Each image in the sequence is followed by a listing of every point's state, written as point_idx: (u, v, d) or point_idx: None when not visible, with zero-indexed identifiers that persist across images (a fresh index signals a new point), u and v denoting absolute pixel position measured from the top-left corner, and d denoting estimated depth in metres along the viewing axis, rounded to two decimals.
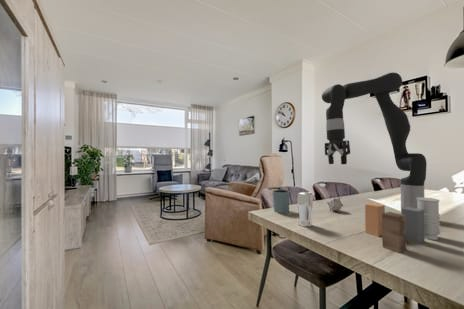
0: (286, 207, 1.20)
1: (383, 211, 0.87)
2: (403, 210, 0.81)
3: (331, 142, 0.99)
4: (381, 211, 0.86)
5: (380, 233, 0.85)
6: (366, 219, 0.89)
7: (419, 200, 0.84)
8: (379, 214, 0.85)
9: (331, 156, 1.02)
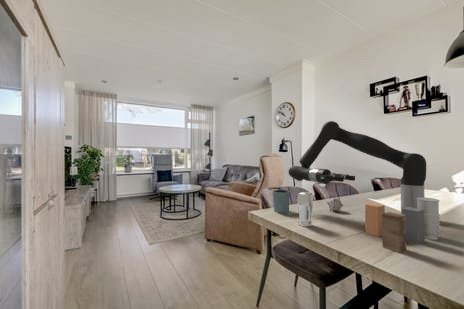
0: (286, 207, 1.20)
1: (383, 211, 0.87)
2: (403, 210, 0.81)
3: None
4: (381, 211, 0.86)
5: (380, 233, 0.85)
6: (366, 219, 0.89)
7: (419, 200, 0.84)
8: (379, 214, 0.85)
9: (347, 177, 1.03)
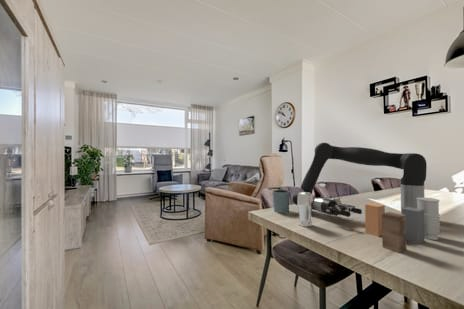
0: (286, 207, 1.20)
1: (383, 211, 0.87)
2: (403, 210, 0.81)
3: None
4: (381, 211, 0.86)
5: (380, 233, 0.85)
6: (366, 219, 0.89)
7: (419, 200, 0.84)
8: (380, 214, 0.85)
9: (353, 209, 1.01)
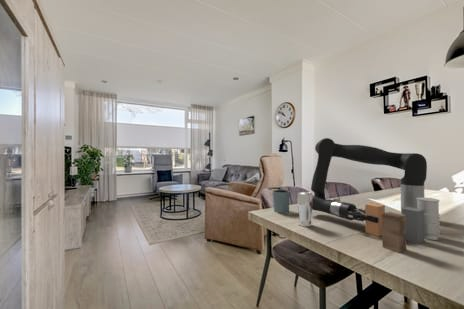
0: (286, 207, 1.20)
1: (383, 211, 0.87)
2: (403, 210, 0.81)
3: None
4: (381, 211, 0.86)
5: (380, 233, 0.85)
6: None
7: (419, 200, 0.84)
8: (380, 214, 0.85)
9: None
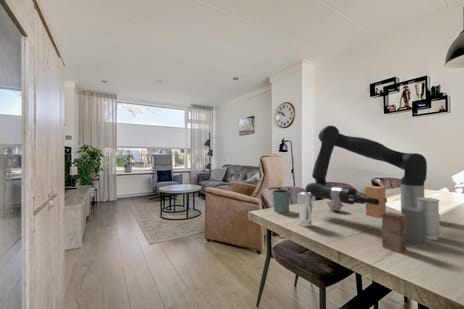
0: (286, 207, 1.20)
1: (383, 193, 0.87)
2: (403, 210, 0.81)
3: None
4: (381, 193, 0.86)
5: (381, 215, 0.85)
6: None
7: (419, 200, 0.84)
8: (380, 196, 0.85)
9: None
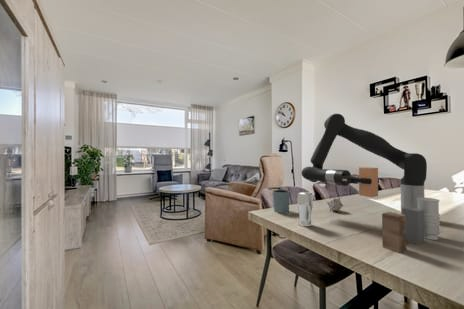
0: (286, 207, 1.20)
1: (376, 173, 0.89)
2: (403, 210, 0.81)
3: None
4: (374, 173, 0.88)
5: (373, 194, 0.88)
6: None
7: (419, 200, 0.84)
8: (373, 176, 0.88)
9: None
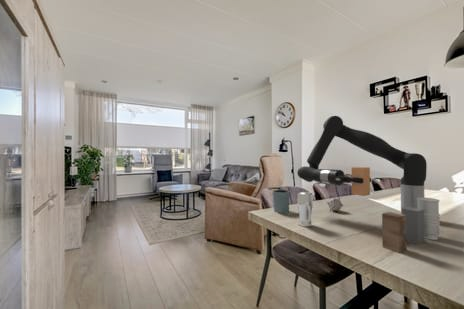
0: (286, 207, 1.20)
1: (368, 173, 0.92)
2: (403, 210, 0.81)
3: None
4: (366, 172, 0.91)
5: (365, 193, 0.91)
6: None
7: (419, 200, 0.84)
8: (364, 175, 0.91)
9: None
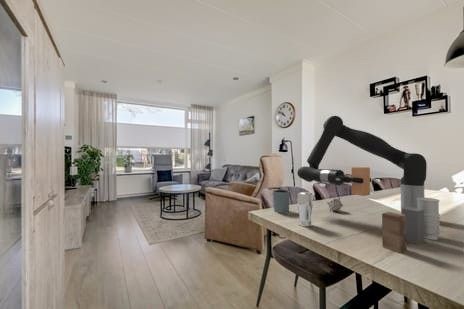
0: (286, 207, 1.20)
1: (368, 173, 0.92)
2: (403, 210, 0.81)
3: None
4: (366, 172, 0.91)
5: (365, 193, 0.91)
6: None
7: (419, 200, 0.84)
8: (364, 175, 0.91)
9: None
